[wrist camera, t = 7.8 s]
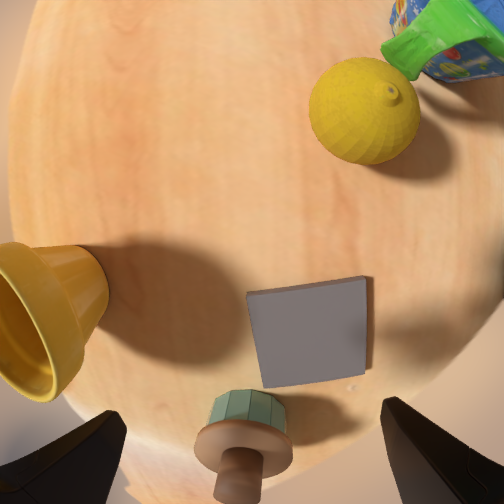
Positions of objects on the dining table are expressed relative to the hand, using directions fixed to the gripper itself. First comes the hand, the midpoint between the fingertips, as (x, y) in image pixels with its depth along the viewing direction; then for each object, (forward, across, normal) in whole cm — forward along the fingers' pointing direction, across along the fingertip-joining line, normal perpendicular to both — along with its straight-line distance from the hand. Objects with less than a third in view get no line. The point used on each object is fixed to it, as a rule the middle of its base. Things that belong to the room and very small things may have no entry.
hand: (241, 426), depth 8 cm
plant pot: (+12, +15, -2) cm, 19 cm away
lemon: (+12, -7, -10) cm, 17 cm away
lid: (+8, +3, +12) cm, 15 cm away
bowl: (+12, +3, +12) cm, 17 cm away
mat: (+12, -3, +4) cm, 13 cm away
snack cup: (+12, -16, -17) cm, 26 cm away
